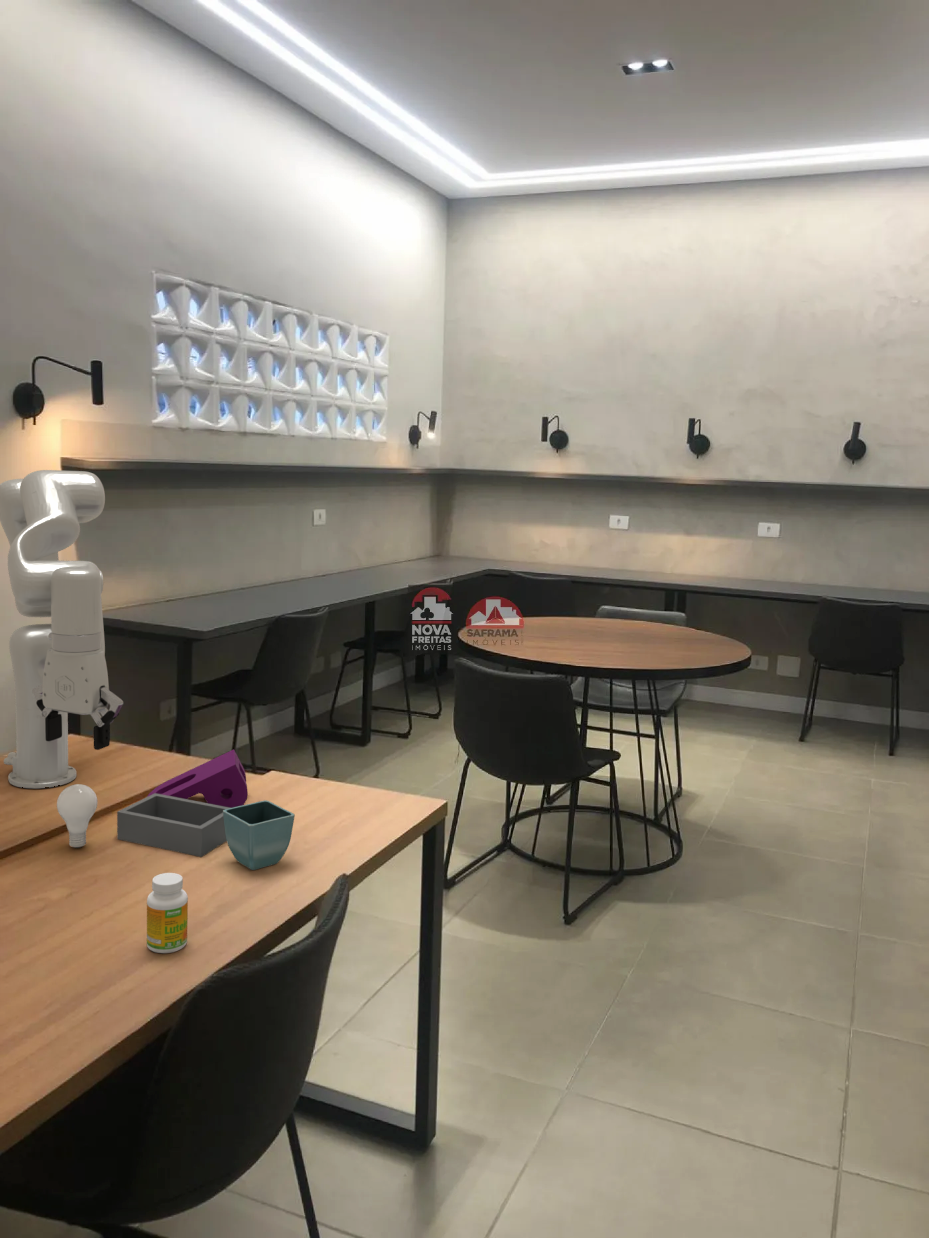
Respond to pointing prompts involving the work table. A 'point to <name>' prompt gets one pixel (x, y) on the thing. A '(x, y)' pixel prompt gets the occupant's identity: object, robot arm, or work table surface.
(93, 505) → the robot arm
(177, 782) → the mounting bracket
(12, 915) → the work table surface
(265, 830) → the flower pot
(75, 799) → the lightbulb
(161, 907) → the supplement bottle
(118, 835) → the open box
